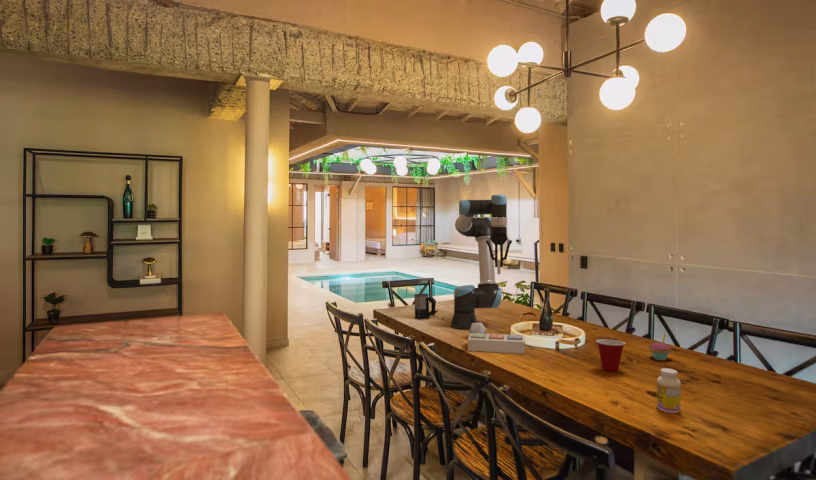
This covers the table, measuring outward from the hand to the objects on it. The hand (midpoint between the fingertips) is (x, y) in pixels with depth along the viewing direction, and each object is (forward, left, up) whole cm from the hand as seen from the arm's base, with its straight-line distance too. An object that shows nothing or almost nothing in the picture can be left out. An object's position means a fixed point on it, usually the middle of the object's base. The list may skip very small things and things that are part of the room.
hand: (498, 273), depth 226 cm
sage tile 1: (+11, -10, -32) cm, 35 cm away
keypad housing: (+11, -1, -34) cm, 36 cm away
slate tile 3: (+11, +8, -32) cm, 34 cm away
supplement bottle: (+70, +55, -35) cm, 96 cm away
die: (-7, -11, -35) cm, 37 cm away
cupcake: (+14, +69, -35) cm, 78 cm away
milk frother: (-51, -46, -35) cm, 77 cm away
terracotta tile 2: (+11, -1, -32) cm, 33 cm away
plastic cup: (+33, +45, -35) cm, 66 cm away
